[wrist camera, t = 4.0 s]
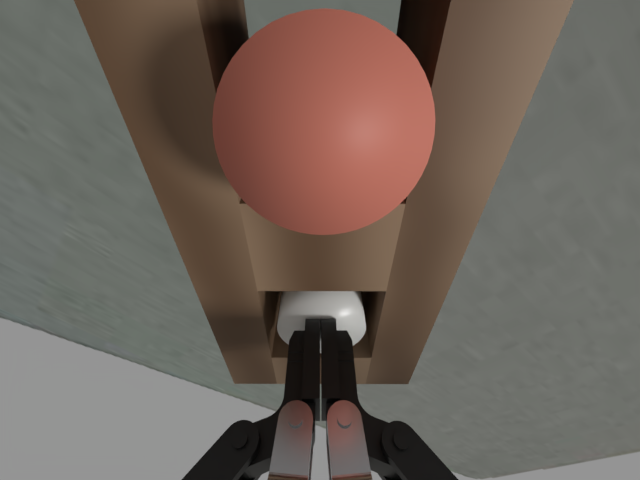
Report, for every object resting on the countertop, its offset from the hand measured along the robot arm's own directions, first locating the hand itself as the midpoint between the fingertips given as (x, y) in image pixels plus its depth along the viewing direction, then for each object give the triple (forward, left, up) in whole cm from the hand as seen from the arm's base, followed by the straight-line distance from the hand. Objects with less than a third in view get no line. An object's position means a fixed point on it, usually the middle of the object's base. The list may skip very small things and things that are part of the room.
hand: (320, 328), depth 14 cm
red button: (0, -10, -1) cm, 10 cm away
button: (0, 0, -3) cm, 3 cm away
